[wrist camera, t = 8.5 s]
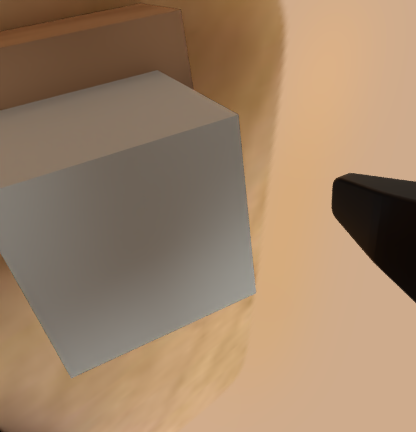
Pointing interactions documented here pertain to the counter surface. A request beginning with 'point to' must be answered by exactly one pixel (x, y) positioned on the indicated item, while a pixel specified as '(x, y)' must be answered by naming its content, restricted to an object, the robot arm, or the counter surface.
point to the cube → (123, 213)
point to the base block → (91, 52)
